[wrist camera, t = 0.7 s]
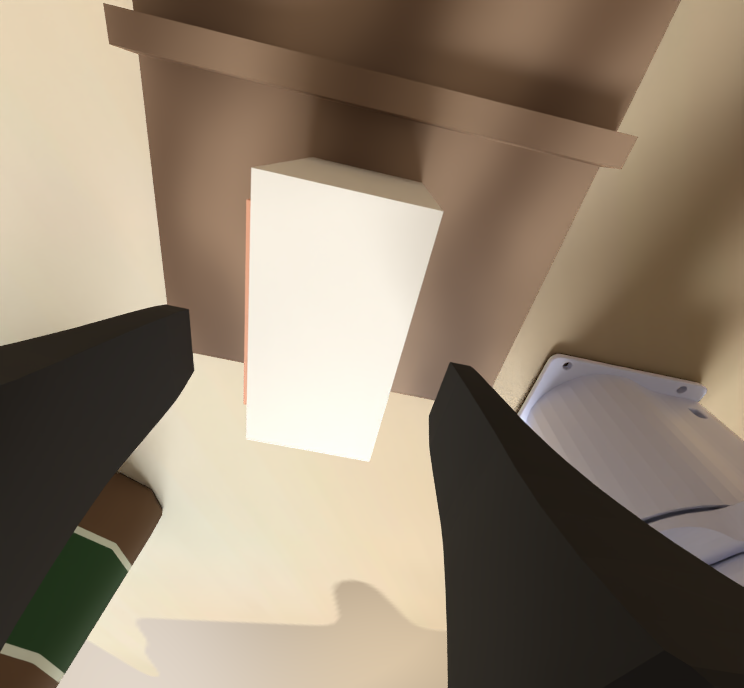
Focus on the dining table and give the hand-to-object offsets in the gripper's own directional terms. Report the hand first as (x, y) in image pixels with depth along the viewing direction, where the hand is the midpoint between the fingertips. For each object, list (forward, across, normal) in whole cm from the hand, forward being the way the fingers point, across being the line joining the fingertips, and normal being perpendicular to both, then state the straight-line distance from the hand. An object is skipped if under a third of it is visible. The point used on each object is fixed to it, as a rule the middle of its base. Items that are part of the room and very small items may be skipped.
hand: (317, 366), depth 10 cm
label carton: (+8, 0, 0) cm, 8 cm away
